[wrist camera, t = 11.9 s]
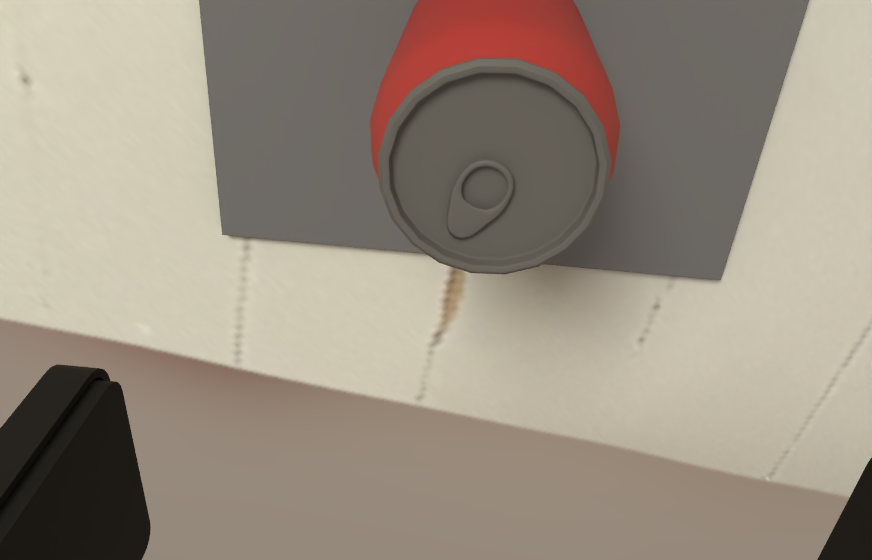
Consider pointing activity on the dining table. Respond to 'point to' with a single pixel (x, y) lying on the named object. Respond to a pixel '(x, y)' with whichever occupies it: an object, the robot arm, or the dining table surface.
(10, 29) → the dining table surface
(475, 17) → the beer can
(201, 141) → the dining table surface
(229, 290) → the dining table surface
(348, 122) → the mat
